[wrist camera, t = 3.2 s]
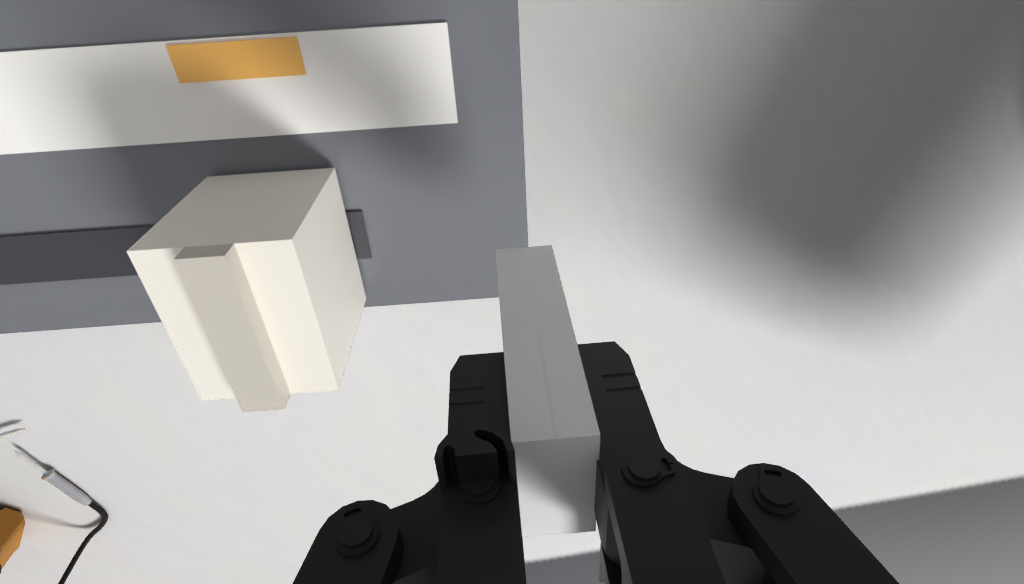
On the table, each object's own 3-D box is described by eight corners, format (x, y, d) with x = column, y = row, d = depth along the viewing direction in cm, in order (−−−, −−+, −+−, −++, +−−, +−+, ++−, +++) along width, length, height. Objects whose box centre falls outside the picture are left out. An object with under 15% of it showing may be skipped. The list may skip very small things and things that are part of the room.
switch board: (499, -286, 14) (503, -326, 12) (525, 261, 23) (530, 297, 21) (-553, -223, 14) (-756, -252, 11) (-113, 307, 22) (-179, 349, 20)
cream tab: (335, 167, 17) (284, 251, 13) (366, 298, 20) (334, 405, 16) (207, 176, 17) (112, 263, 13) (256, 306, 20) (192, 416, 16)
